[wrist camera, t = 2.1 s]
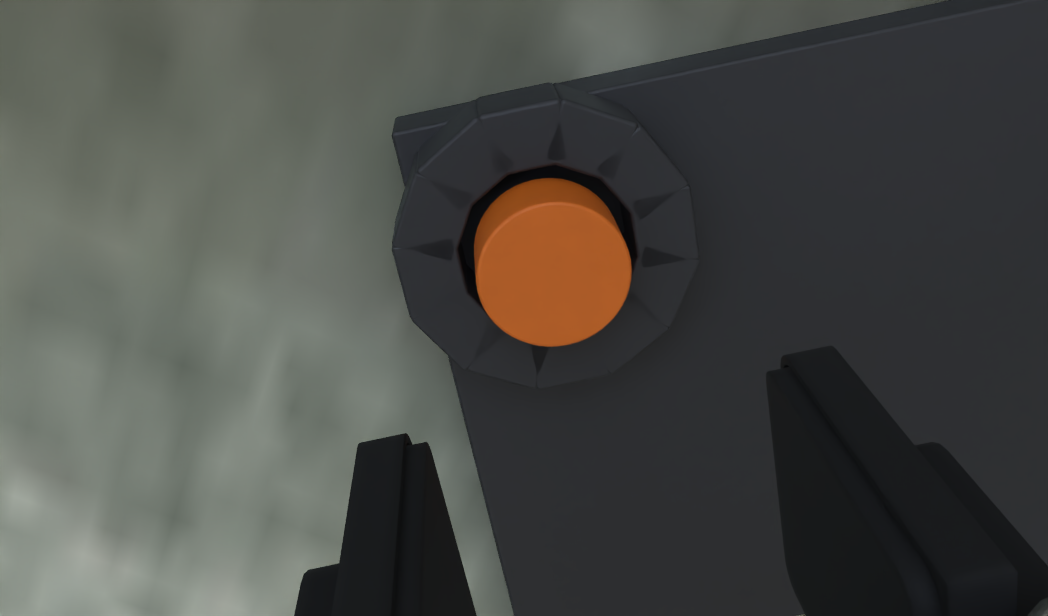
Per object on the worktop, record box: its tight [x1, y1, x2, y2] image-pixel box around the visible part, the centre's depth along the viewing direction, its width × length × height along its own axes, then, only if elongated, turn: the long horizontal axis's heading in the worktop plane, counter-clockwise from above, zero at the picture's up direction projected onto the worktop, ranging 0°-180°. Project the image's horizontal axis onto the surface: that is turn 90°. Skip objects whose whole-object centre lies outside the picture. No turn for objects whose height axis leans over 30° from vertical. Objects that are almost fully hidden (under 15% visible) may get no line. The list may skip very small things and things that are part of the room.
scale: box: [392, 0, 1048, 616], centre depth 22 cm, size 16×14×3 cm
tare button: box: [474, 178, 632, 347], centre depth 18 cm, size 3×3×2 cm
